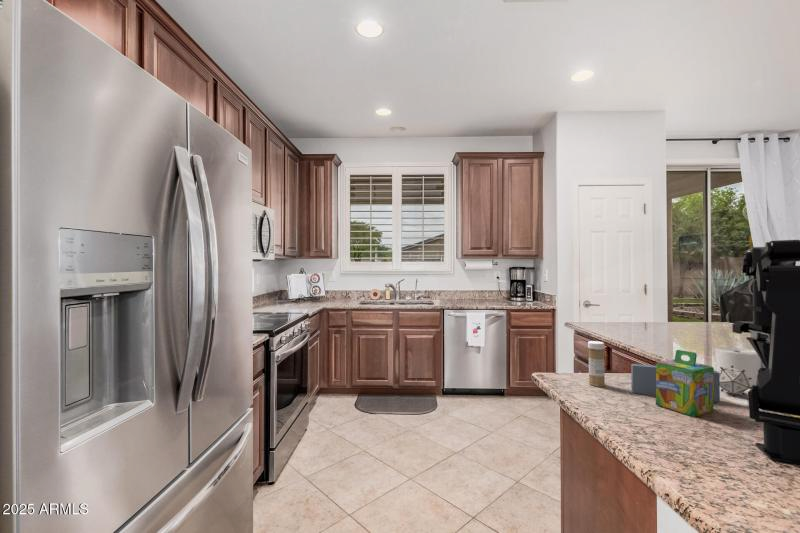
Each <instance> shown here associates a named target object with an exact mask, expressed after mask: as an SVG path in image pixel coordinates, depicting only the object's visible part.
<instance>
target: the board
mask: <svg viewBox="0 0 800 533" xmlns="http://www.w3.org/2000/svg"><path fill="white" fill-rule="evenodd" d="M630 367H631V368H630V370H631V371H630V372H631V373H630V374H631V375H630V376H631V377H630V378H631V380H630V381H631V382H630V383H631V392H632V394H636V393H637V394H638V395H648V396H655V397H656V365H652V364H640V363H639V364H638V363H631V365H630ZM719 402H720V403H721V387H720V376H719V372H717V371H716V369H714V401H713V403H719Z"/></svg>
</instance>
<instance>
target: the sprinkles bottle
mask: <svg viewBox="0 0 800 533" xmlns="http://www.w3.org/2000/svg"><path fill="white" fill-rule="evenodd" d="M587 348H588V376H589V377H588V384H589V385H590V386H593V387H601V388H602V387H605V386H606V384H605V375H606V374H605V373H606V371H605V342H603V341H599V340H590V341H589V340H588V342H587Z"/></svg>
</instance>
